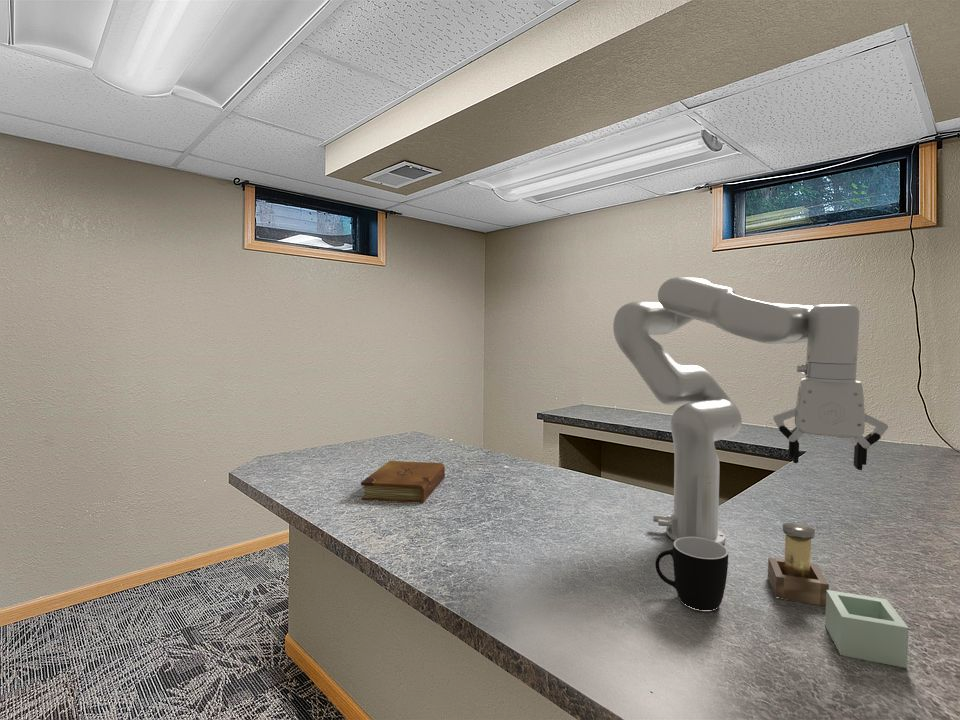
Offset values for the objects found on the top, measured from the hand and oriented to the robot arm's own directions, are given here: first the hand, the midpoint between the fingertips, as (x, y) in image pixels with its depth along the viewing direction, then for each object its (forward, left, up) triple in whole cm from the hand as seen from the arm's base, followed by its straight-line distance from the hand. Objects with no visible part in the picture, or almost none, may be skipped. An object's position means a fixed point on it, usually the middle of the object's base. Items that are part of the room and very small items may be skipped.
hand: (825, 464), depth 92 cm
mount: (-5, -3, -23) cm, 24 cm away
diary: (-102, +24, -24) cm, 108 cm away
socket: (+1, -18, -23) cm, 29 cm away
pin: (-5, -3, -23) cm, 24 cm away
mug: (-23, -13, -24) cm, 36 cm away
